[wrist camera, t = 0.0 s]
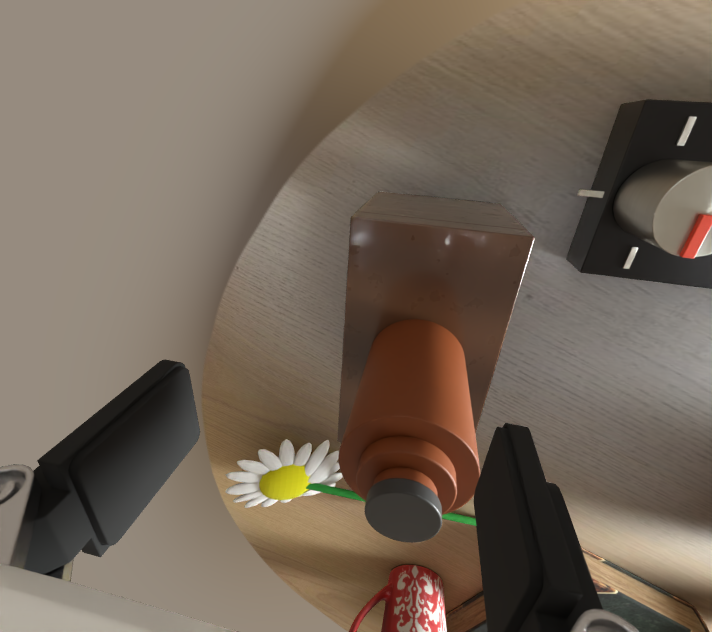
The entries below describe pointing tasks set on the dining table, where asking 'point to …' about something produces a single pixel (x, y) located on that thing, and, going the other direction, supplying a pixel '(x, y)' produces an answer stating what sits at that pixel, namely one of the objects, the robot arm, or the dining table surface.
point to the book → (607, 603)
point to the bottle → (411, 432)
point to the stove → (620, 160)
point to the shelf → (432, 281)
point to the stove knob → (669, 206)
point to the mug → (409, 602)
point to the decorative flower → (296, 477)
